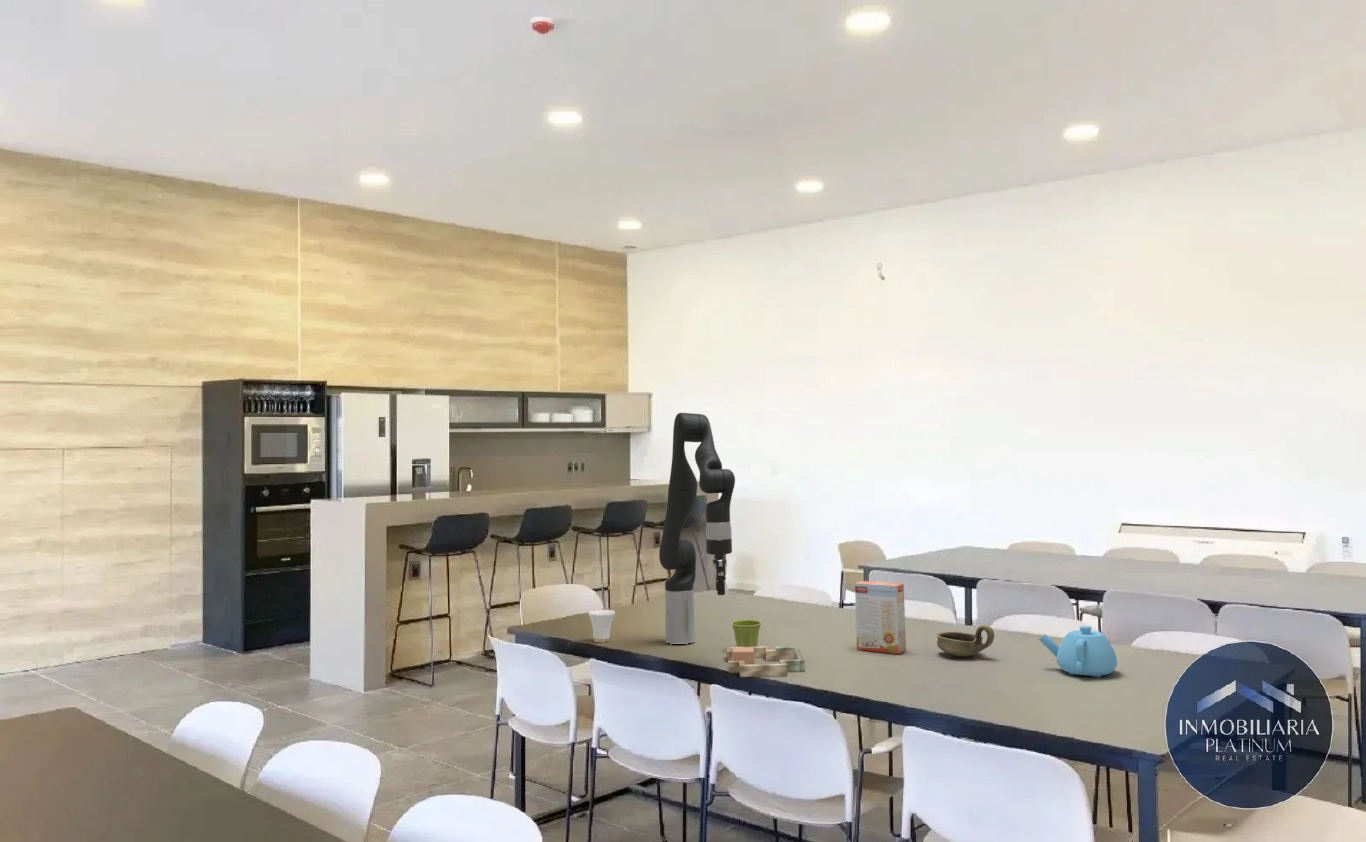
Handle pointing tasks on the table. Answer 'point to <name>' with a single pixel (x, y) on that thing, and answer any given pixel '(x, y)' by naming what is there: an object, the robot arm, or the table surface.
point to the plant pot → (746, 632)
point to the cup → (601, 623)
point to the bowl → (964, 642)
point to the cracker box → (880, 617)
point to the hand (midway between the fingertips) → (720, 592)
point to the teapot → (1083, 652)
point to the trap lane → (786, 655)
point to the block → (744, 655)
